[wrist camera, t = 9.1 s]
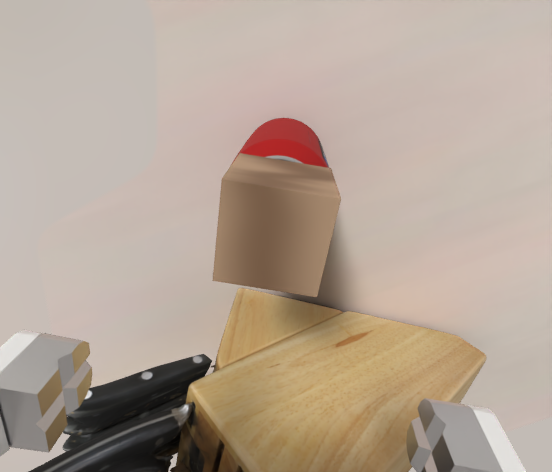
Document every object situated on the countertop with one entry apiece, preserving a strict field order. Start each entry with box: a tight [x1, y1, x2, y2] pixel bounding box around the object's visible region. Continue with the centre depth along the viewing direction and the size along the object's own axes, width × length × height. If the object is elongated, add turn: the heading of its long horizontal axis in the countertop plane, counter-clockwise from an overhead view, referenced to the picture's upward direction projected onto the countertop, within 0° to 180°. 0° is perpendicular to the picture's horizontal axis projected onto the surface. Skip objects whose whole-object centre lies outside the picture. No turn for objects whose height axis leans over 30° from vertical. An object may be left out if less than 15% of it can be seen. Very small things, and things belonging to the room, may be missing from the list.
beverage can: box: [232, 118, 329, 168], centre depth 26 cm, size 7×7×12 cm
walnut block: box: [213, 153, 341, 297], centre depth 18 cm, size 5×5×5 cm
